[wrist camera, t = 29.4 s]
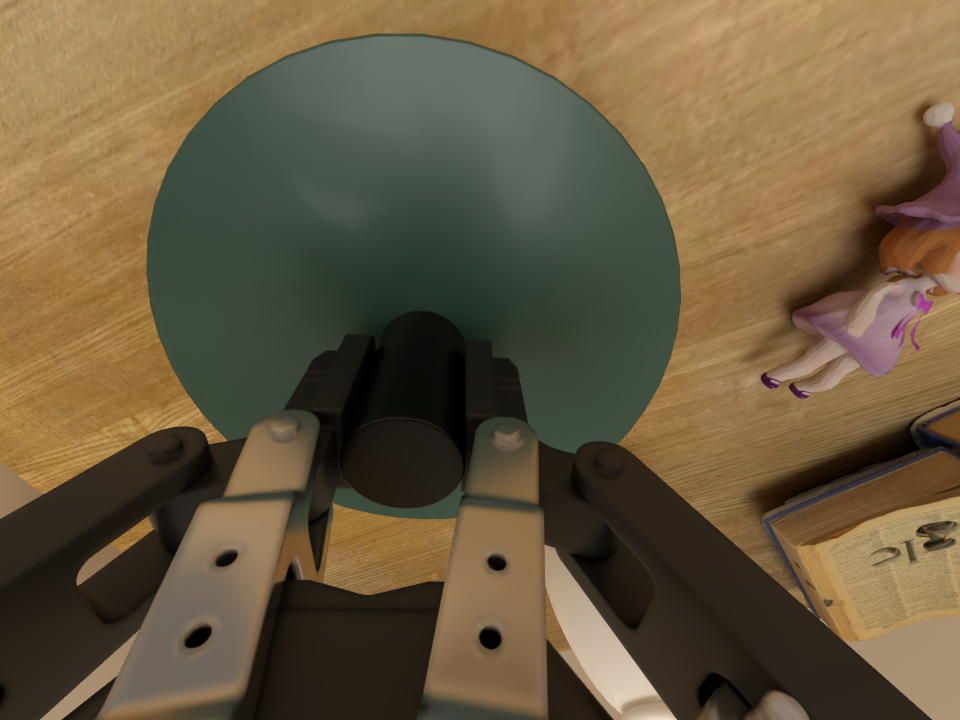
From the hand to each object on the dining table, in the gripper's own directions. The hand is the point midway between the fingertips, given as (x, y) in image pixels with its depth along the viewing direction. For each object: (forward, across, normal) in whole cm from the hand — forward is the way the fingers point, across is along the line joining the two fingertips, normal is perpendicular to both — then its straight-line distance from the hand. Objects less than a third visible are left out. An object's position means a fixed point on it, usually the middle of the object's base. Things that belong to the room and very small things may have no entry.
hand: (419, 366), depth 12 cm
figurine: (+13, -23, 0) cm, 27 cm away
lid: (+1, 0, 0) cm, 1 cm away
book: (+13, -39, +17) cm, 44 cm away
